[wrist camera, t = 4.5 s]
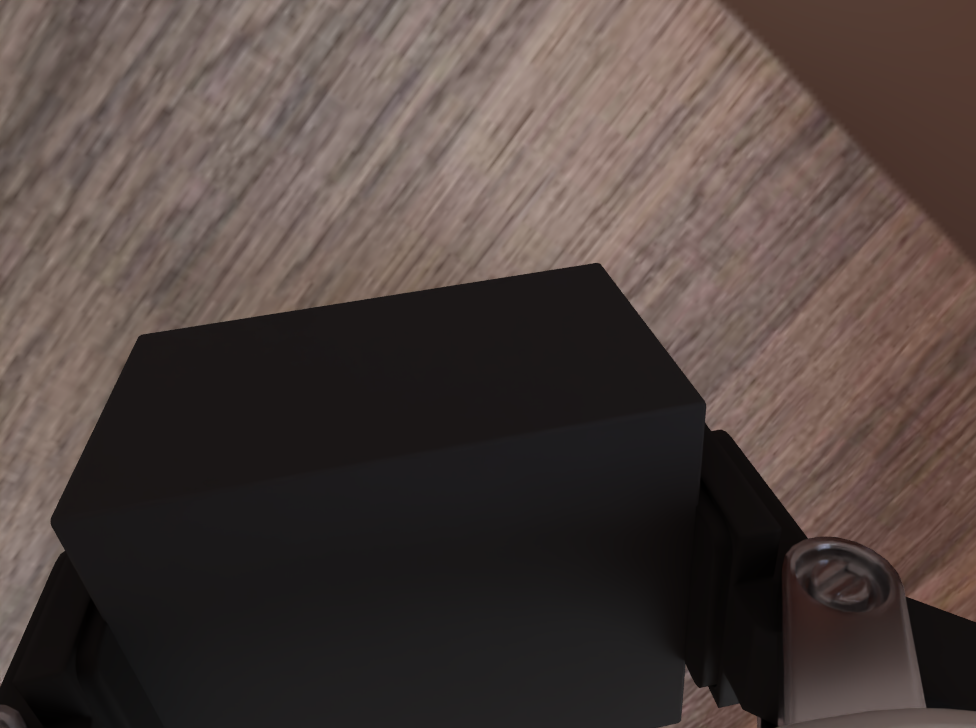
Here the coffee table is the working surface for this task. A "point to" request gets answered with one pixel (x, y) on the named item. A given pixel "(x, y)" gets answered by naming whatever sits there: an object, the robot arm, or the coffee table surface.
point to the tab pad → (400, 513)
